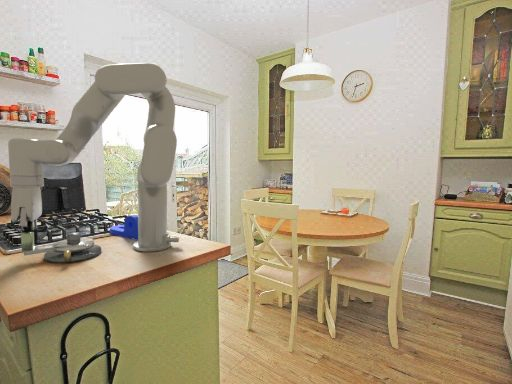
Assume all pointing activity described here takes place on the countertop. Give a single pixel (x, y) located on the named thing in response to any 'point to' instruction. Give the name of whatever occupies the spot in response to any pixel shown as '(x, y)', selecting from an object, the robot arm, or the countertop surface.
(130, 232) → the bracket
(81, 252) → the post base
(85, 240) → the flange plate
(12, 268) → the countertop surface
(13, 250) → the countertop surface
